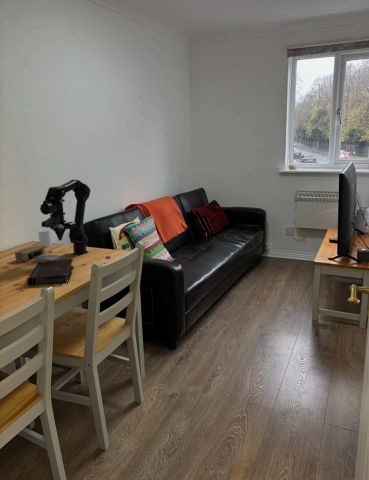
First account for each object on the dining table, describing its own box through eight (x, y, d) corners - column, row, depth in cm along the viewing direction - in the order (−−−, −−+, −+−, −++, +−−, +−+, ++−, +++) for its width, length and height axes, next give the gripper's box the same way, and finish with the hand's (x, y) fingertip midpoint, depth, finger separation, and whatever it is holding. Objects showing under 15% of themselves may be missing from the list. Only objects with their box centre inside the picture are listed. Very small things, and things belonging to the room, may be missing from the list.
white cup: (53, 246, 243) (52, 231, 241) (40, 248, 240) (38, 232, 238) (52, 243, 250) (50, 228, 248) (39, 245, 247) (37, 229, 244)
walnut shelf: (45, 255, 225) (44, 246, 224) (25, 262, 212) (24, 253, 211) (35, 253, 228) (34, 245, 227) (15, 261, 214) (14, 251, 213)
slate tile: (61, 260, 217) (61, 255, 216) (51, 264, 210) (51, 259, 209) (44, 258, 221) (44, 253, 221) (34, 261, 214) (34, 257, 214)
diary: (27, 287, 177) (26, 277, 176) (38, 270, 201) (36, 261, 200) (70, 284, 180) (69, 273, 179) (75, 267, 204) (74, 258, 202)
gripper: (32, 212, 201) (35, 242, 205) (62, 215, 195) (64, 245, 198) (47, 209, 211) (50, 237, 215) (76, 211, 205) (78, 240, 208)
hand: (60, 240), depth 209 cm, fingers closed
